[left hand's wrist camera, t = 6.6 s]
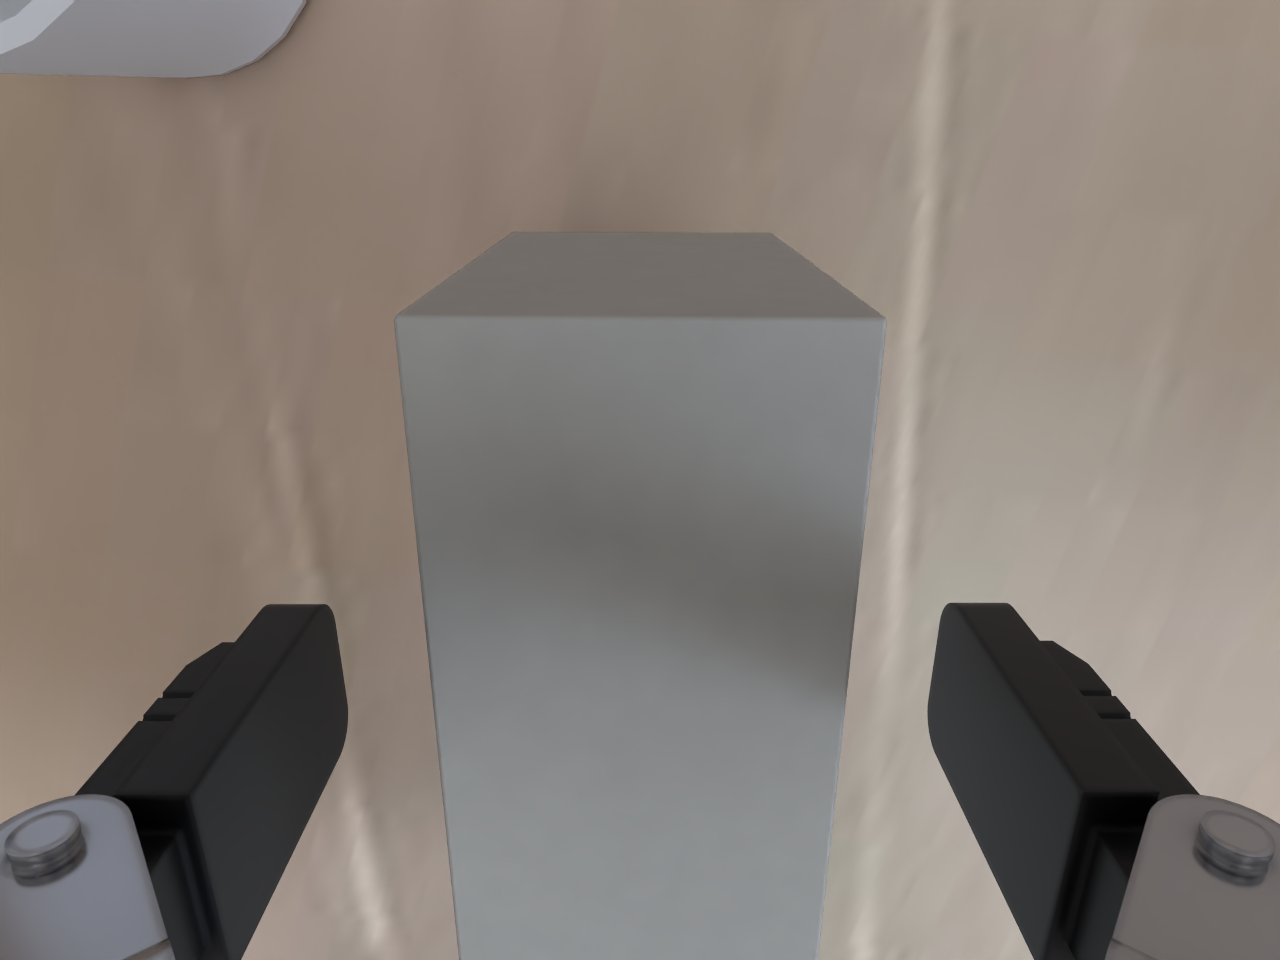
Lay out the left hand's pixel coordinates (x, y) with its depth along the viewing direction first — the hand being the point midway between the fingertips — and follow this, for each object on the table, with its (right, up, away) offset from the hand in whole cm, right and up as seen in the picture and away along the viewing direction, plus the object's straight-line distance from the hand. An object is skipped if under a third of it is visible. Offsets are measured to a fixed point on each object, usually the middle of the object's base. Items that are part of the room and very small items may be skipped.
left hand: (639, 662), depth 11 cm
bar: (0, -4, +12) cm, 12 cm away
